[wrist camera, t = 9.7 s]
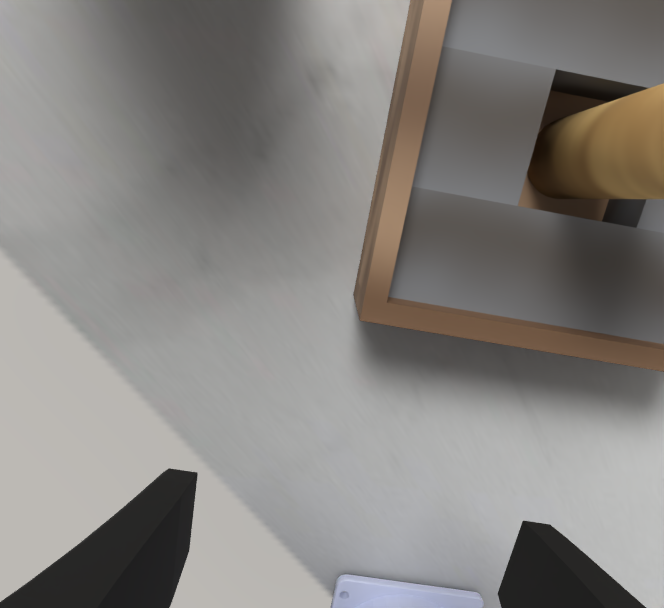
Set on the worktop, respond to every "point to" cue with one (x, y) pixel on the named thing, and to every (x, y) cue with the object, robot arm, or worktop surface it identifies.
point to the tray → (513, 183)
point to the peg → (604, 151)
